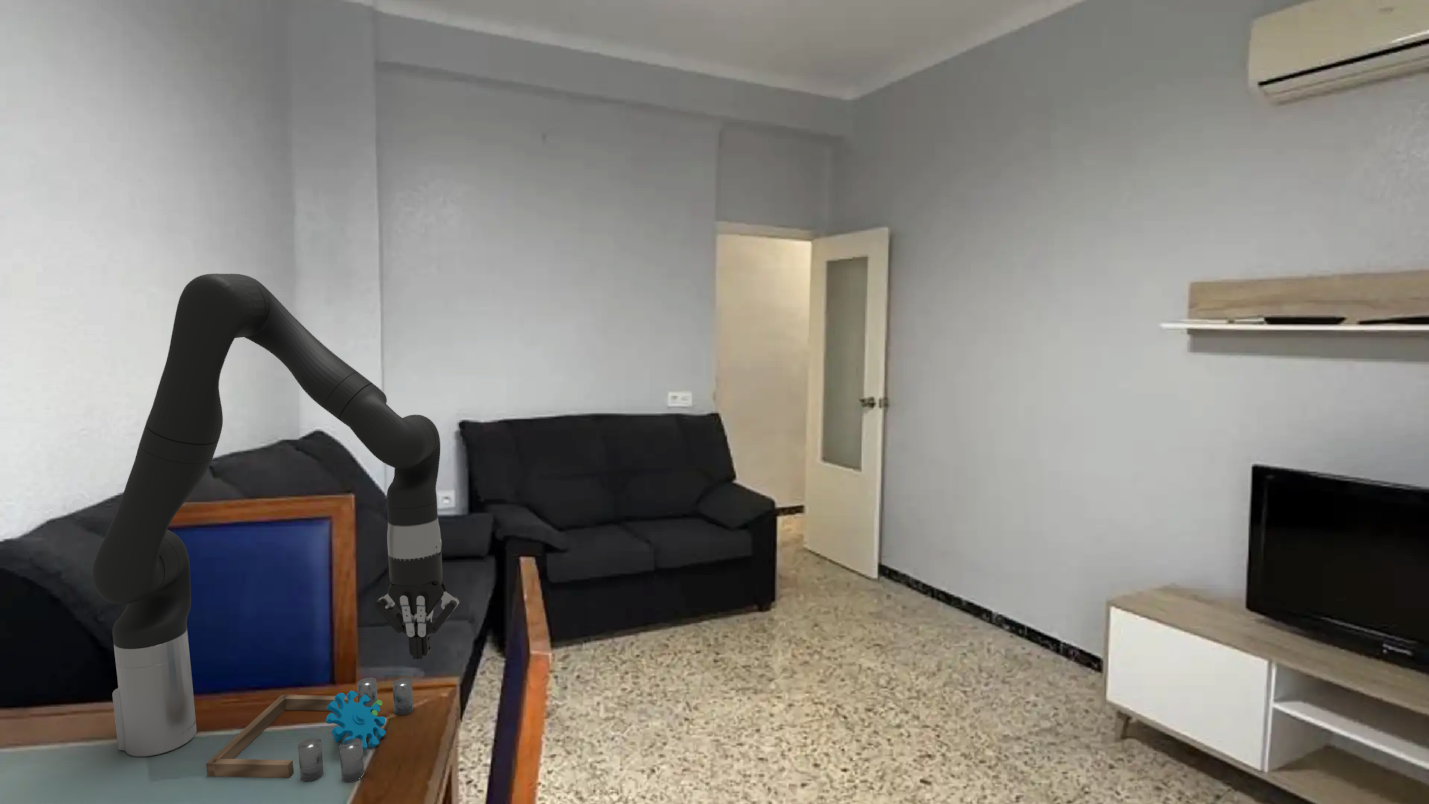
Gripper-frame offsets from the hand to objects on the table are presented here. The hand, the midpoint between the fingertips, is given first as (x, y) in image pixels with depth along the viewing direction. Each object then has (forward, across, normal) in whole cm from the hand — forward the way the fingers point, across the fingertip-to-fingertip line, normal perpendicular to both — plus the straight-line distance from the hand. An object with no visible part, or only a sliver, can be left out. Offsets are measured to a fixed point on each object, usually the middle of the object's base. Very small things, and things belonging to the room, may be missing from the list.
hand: (420, 656), depth 122 cm
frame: (+14, -22, 0) cm, 26 cm away
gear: (+14, -10, 0) cm, 18 cm away
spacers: (+14, -10, 0) cm, 17 cm away
